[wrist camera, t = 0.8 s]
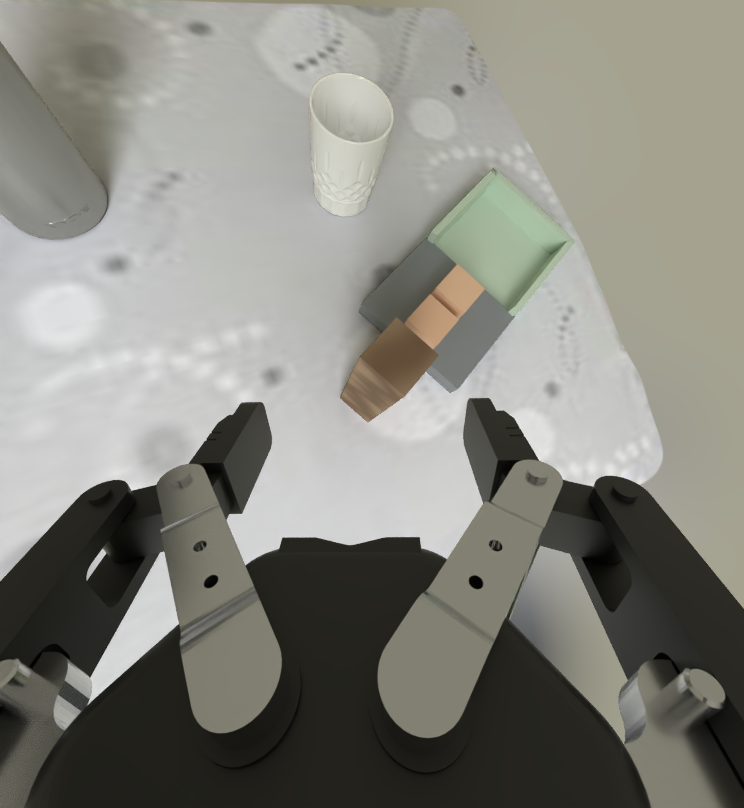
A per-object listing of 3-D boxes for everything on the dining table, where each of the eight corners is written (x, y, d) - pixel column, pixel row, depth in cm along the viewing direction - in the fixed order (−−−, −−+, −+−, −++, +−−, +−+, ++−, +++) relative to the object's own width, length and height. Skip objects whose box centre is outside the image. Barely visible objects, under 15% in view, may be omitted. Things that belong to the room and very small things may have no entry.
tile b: (425, 301, 38) (435, 287, 35) (446, 279, 39) (457, 263, 36) (452, 325, 38) (464, 313, 35) (471, 302, 39) (485, 288, 36)
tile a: (398, 331, 36) (406, 319, 33) (420, 307, 37) (430, 293, 34) (426, 355, 36) (436, 345, 33) (447, 330, 37) (459, 319, 34)
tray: (421, 250, 41) (431, 230, 38) (480, 189, 44) (494, 167, 41) (503, 323, 41) (520, 310, 38) (555, 258, 45) (575, 241, 41)
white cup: (306, 162, 40) (306, 66, 31) (370, 167, 42) (389, 78, 32) (310, 220, 39) (312, 139, 29) (376, 223, 40) (398, 147, 31)
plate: (358, 311, 38) (361, 303, 36) (421, 247, 41) (426, 237, 39) (450, 392, 38) (457, 389, 36) (505, 323, 41) (514, 316, 39)
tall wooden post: (339, 398, 36) (359, 356, 22) (363, 371, 37) (396, 317, 23) (367, 422, 36) (404, 396, 22) (390, 395, 37) (439, 355, 23)
